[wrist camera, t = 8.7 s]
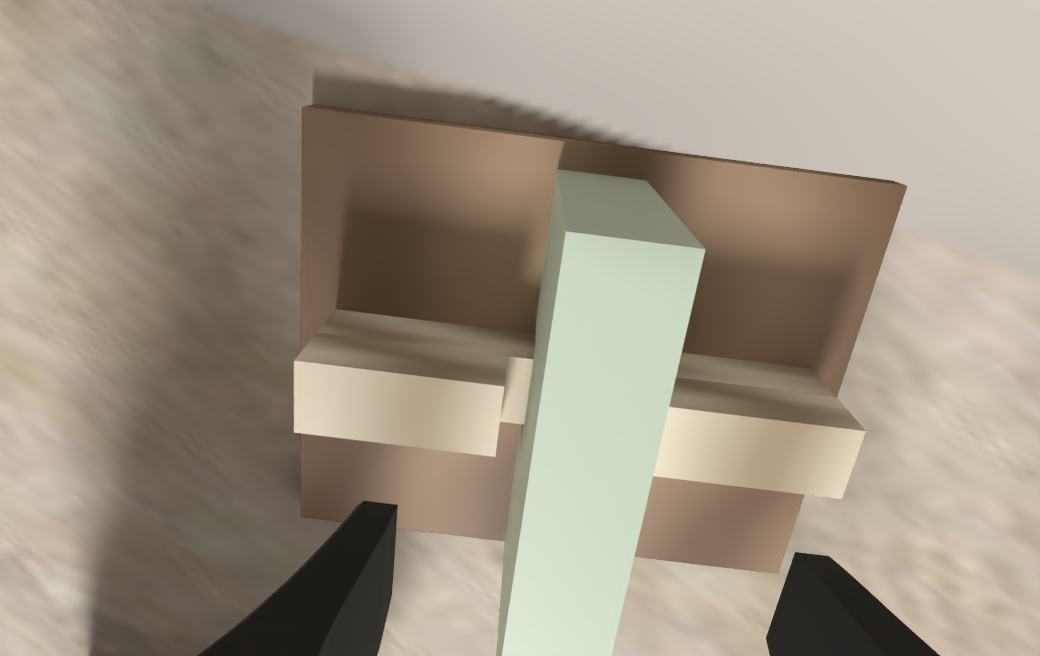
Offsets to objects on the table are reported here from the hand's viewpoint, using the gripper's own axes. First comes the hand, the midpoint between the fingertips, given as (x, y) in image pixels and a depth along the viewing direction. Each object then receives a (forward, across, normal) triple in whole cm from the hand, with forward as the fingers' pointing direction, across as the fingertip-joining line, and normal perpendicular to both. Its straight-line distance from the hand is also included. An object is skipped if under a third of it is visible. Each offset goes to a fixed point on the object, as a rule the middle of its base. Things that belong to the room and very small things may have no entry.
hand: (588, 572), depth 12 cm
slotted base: (+9, 0, 0) cm, 9 cm away
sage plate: (+9, 0, 0) cm, 9 cm away
